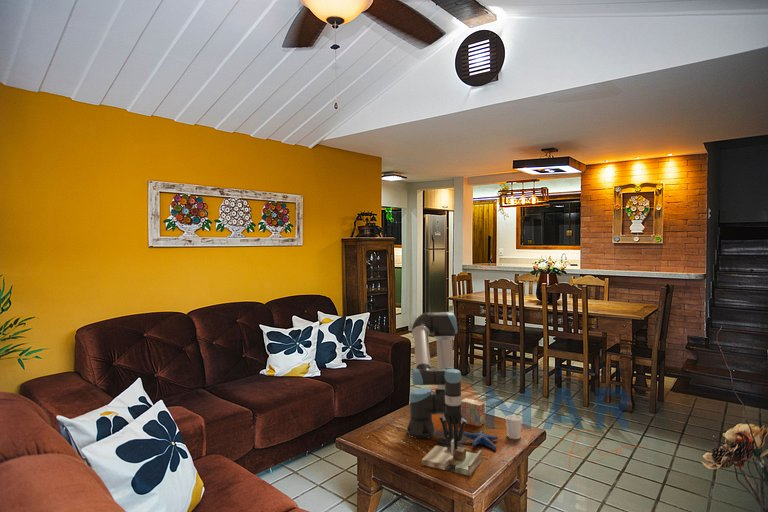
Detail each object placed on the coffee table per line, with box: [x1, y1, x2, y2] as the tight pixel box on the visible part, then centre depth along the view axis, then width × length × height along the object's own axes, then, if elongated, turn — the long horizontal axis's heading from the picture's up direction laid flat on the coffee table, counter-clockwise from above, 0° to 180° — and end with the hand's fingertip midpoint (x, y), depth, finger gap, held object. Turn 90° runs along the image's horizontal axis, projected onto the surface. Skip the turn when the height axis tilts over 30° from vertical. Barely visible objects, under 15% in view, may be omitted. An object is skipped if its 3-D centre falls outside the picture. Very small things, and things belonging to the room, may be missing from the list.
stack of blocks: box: [459, 397, 486, 427], centre depth 263 cm, size 21×6×12 cm, turn 51°
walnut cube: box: [453, 446, 467, 462], centre depth 210 cm, size 4×4×4 cm
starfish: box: [463, 430, 499, 452], centre depth 232 cm, size 19×19×5 cm
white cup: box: [505, 414, 522, 440], centre depth 240 cm, size 8×8×10 cm
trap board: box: [421, 444, 483, 477], centre depth 212 cm, size 23×17×4 cm
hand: (453, 454), depth 212 cm, fingers closed
